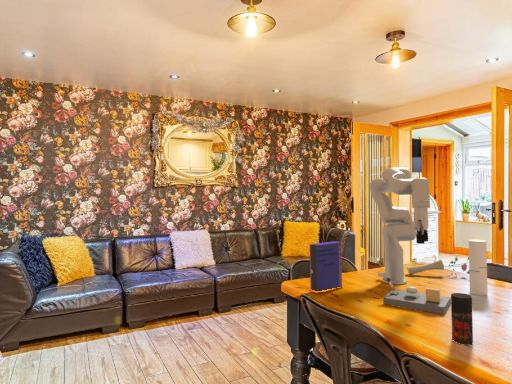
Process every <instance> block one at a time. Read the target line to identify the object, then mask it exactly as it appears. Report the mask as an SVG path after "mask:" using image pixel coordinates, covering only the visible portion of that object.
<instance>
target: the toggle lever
mask: <svg viewBox="0 0 512 384" xmlns="http://www.w3.org/2000/svg"><path fill="white" fill-rule="evenodd" d="M386 281H387V282H389V283H388V284H389V286H390V288H391V291H395V290H394V289H395V288H394V286H393V285H394V284H392V283H391V279H390V278H389V277H387V278H386Z"/></svg>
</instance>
